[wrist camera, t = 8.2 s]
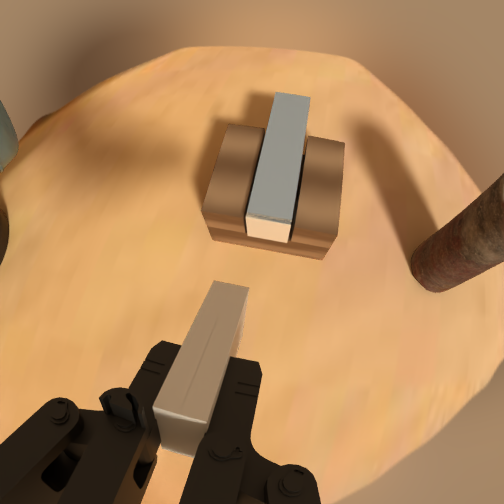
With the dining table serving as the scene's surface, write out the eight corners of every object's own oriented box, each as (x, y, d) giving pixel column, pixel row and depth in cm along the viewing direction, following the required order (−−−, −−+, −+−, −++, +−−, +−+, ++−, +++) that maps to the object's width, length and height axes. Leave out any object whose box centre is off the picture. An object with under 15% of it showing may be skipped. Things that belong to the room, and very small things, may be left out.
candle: (440, 235, 39) (525, 162, 20) (461, 281, 37) (559, 228, 18) (401, 252, 39) (487, 176, 20) (423, 302, 36) (527, 255, 17)
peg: (287, 243, 34) (290, 225, 30) (247, 235, 35) (245, 217, 30) (306, 121, 40) (310, 97, 35) (274, 116, 40) (275, 91, 36)
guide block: (322, 260, 39) (337, 235, 31) (212, 240, 40) (201, 210, 32) (331, 179, 42) (344, 142, 34) (233, 162, 44) (228, 124, 36)
